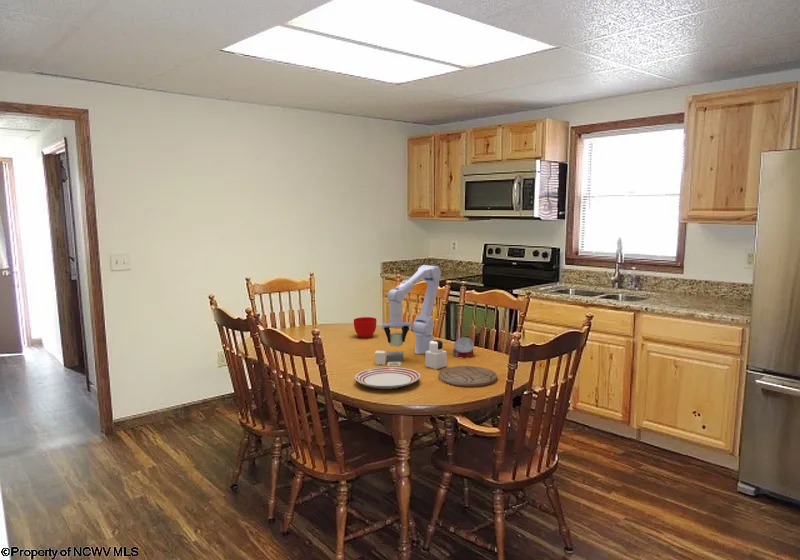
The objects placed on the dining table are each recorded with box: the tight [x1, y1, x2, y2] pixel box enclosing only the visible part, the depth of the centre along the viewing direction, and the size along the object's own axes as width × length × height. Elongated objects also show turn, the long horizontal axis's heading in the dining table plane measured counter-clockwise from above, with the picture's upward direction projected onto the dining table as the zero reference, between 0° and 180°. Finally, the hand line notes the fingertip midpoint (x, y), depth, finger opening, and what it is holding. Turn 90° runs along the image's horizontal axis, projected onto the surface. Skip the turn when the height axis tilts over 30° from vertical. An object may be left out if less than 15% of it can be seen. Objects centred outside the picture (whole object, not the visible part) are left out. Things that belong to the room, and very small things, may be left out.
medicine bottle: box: [424, 339, 448, 370], centre depth 254 cm, size 7×7×12 cm
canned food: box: [452, 336, 475, 359], centre depth 273 cm, size 11×10×10 cm
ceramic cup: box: [353, 316, 377, 339], centre depth 315 cm, size 13×17×10 cm
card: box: [387, 361, 402, 367], centre depth 259 cm, size 6×6×1 cm
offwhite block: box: [374, 350, 387, 366], centre depth 260 cm, size 5×5×6 cm
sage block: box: [389, 332, 404, 348], centre depth 266 cm, size 5×5×6 cm
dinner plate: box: [354, 366, 421, 390], centre depth 232 cm, size 28×27×3 cm
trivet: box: [437, 365, 498, 388], centre depth 237 cm, size 25×25×2 cm
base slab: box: [386, 350, 404, 362], centre depth 268 cm, size 8×8×3 cm
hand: (396, 342), depth 266 cm, fingers closed on sage block, 6 cm apart
